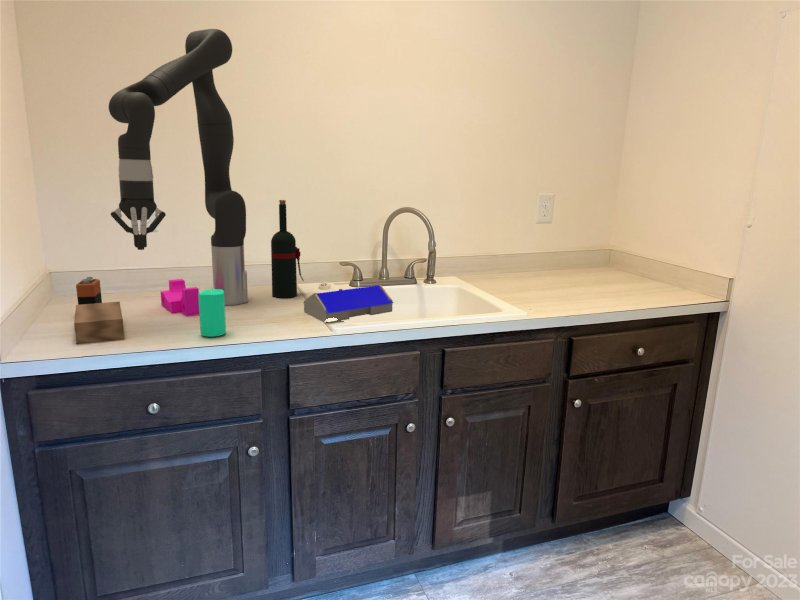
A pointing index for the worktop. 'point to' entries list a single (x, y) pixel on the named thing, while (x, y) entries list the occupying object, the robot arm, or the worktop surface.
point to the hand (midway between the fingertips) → (140, 249)
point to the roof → (348, 303)
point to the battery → (89, 291)
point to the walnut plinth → (98, 322)
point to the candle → (212, 312)
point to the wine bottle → (284, 259)
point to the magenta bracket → (180, 298)
